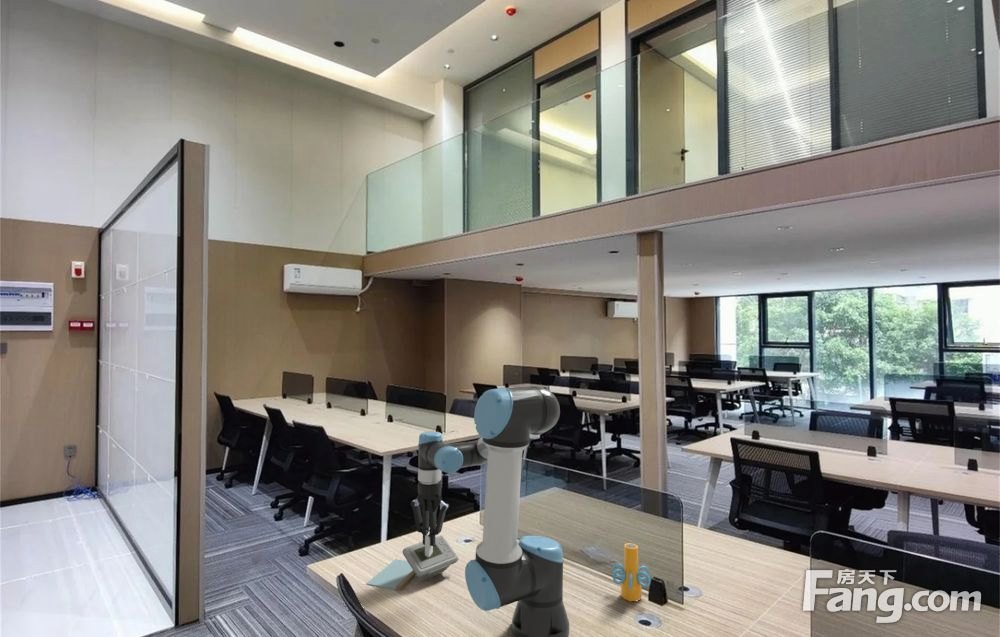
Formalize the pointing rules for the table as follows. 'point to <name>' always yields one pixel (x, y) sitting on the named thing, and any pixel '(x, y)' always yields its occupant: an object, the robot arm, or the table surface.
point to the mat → (394, 575)
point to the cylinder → (631, 574)
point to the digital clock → (430, 558)
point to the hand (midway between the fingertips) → (428, 555)
